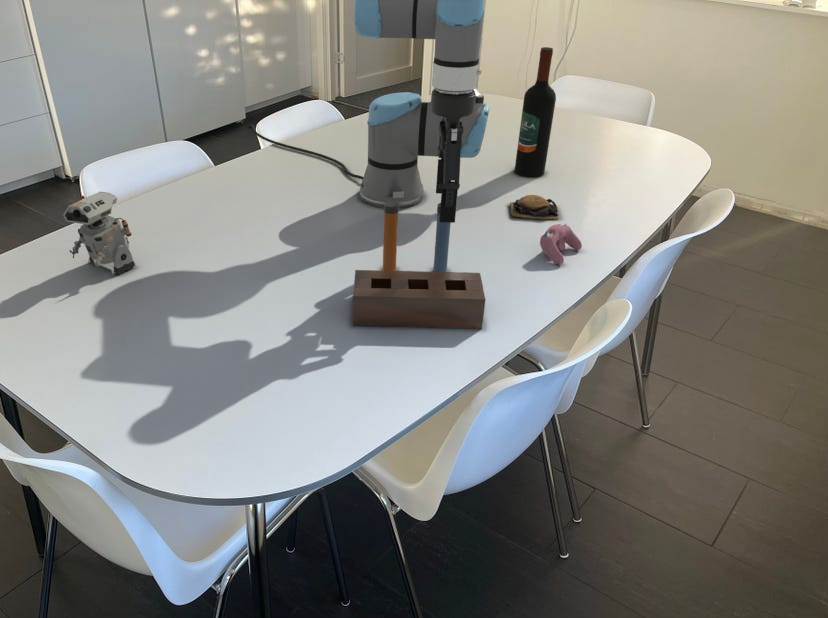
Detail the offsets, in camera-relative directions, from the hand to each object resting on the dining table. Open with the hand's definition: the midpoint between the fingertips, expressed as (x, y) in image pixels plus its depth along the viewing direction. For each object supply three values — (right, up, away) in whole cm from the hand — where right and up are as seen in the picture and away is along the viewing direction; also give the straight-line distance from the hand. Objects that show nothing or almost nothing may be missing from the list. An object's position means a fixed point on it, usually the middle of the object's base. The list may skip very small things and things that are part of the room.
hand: (444, 206), depth 136 cm
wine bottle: (+28, +20, +52) cm, 62 cm away
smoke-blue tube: (0, -11, +8) cm, 14 cm away
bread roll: (+24, +5, +32) cm, 40 cm away
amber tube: (-10, -11, +9) cm, 17 cm away
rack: (-6, -20, -5) cm, 21 cm away
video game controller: (+25, -7, +14) cm, 30 cm away
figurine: (-66, -11, +9) cm, 68 cm away
